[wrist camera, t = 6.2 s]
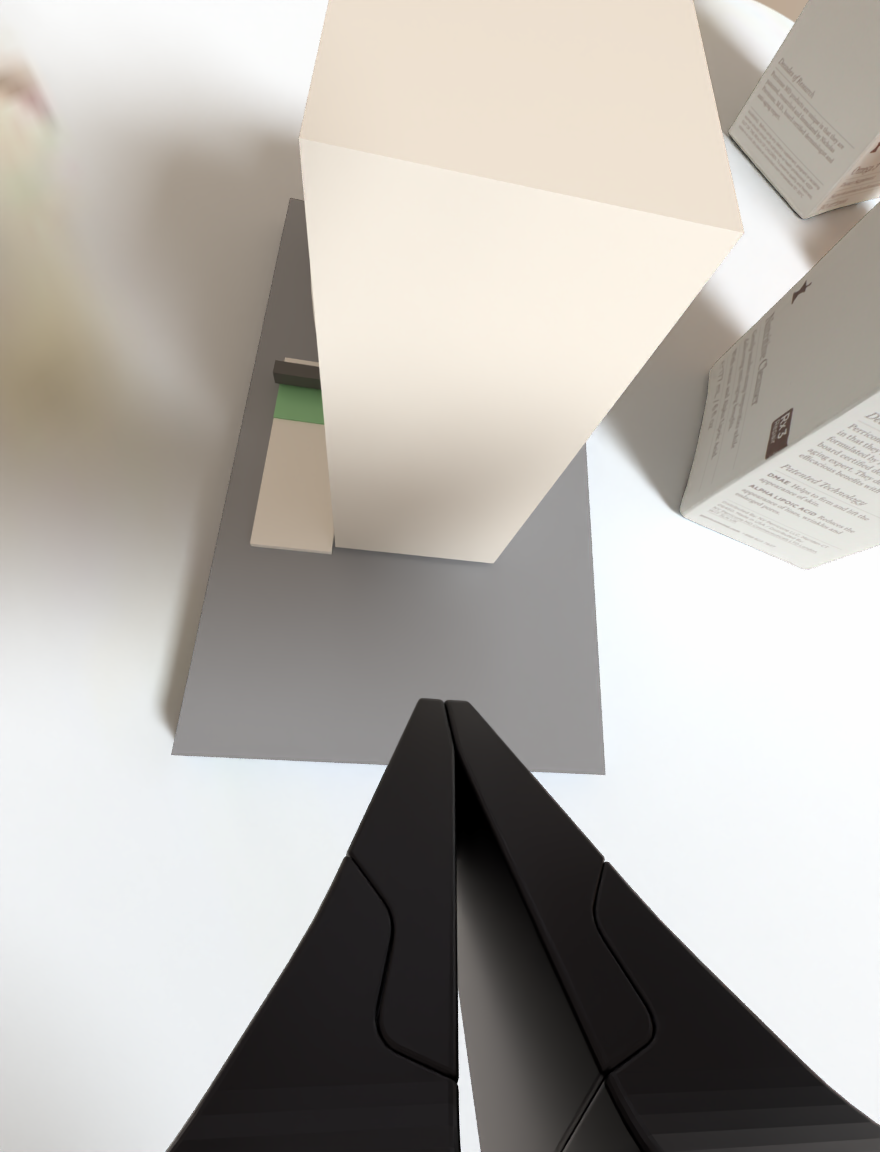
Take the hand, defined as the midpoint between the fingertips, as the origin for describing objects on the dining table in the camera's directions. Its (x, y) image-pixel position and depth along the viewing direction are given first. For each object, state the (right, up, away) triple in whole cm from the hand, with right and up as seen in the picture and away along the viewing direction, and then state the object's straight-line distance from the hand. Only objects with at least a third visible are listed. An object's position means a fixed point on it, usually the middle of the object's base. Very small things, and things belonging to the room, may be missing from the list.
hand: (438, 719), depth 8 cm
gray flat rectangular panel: (-1, +7, +10) cm, 12 cm away
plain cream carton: (-2, +8, +9) cm, 12 cm away
